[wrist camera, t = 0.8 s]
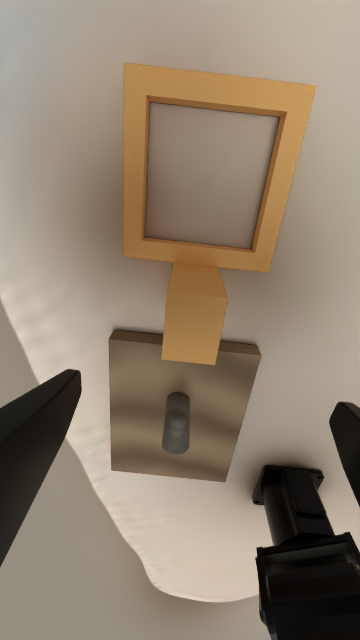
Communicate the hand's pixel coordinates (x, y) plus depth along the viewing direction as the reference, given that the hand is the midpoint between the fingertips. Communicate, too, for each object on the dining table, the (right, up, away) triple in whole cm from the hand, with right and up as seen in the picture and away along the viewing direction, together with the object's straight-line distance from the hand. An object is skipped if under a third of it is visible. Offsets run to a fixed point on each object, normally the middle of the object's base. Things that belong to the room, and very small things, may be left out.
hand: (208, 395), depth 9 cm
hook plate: (-1, -6, +16) cm, 17 cm away
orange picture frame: (0, +10, +9) cm, 13 cm away
